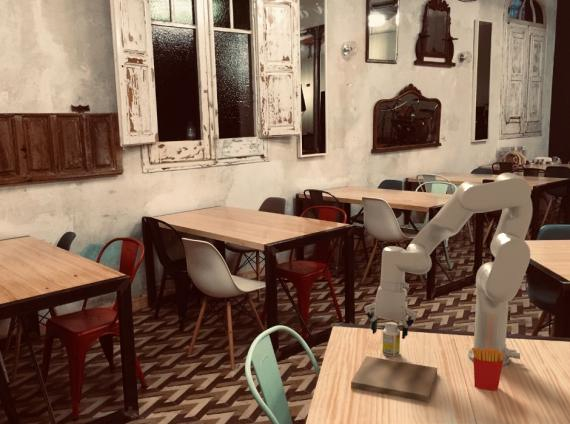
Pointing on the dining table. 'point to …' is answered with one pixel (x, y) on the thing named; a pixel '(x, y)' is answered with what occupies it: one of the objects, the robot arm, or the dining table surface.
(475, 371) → the french fries
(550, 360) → the dining table surface
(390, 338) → the supplement bottle
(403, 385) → the walnut board
